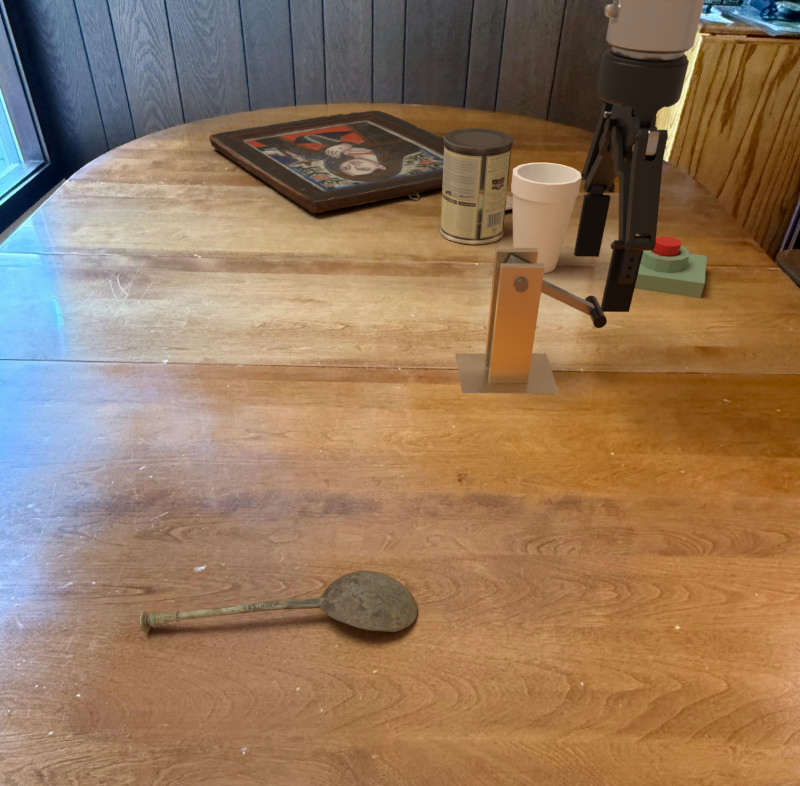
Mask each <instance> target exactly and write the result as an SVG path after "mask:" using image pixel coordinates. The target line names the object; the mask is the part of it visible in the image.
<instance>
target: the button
mask: <svg viewBox="0 0 800 786" xmlns="http://www.w3.org/2000/svg"><path fill="white" fill-rule="evenodd" d="M680 246H682V241H681V240H680V239H678V238H677V237H676V238H675V237H672V236H658V237H656V244H655V248H654V250H653V251H652V252H653V253H654V254H657V255H660V256H665V257H676V256H678V254H679V250H680Z"/></svg>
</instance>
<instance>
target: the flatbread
mask: <svg viewBox="0 0 800 786" xmlns="http://www.w3.org/2000/svg"><path fill="white" fill-rule="evenodd" d="M511 210H513V195H507V198H506V208H505V212H507V211H511Z"/></svg>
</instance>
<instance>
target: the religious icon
mask: <svg viewBox="0 0 800 786" xmlns="http://www.w3.org/2000/svg"><path fill="white" fill-rule="evenodd" d="M208 139H209V141H210V145H211V147H213V148H214V149H215V150H217V151H218V152H220V153H221V154H223V155H224V156H226V157H227V158H229V159H230V160H231V161H233V162H234V163H236V164H238V165H239V166H241V168H243V169H244V170H246V171H248V172H250V173H252V174H253V175H254V176H256V177H258V178H260V179H261V180H262V181H263V182H264V183H267V184H268V185H270V186H271V187H272V188H274V189H275V190H276V191H278V192H280V193H281V194H282V195H284V196H285V197H287V198H288V199H290V200H293V202H295V203H296V204H298V205H300V206H301V207H302V208H304V209H306V210H307V211H309V212H310V213H312V214H317V213H319V214H320V213H324V212H331V211H334V210H340V209H346V208H351V207H355V206H361V205H365V204H370V203H376V202H381V201H386V200H391V199H395V198H400V197H408V198H409V199H411V200H419V199H420V197H421V196H420V193H423V192H430V191H434V190H439V189H442V186H443V163H444V137H442V136H440V135H438V134H436V133H433V132H431V131H428V130H426V129H423V128H421V127H418V126H417V125H415V124H412V123H410V122H408V121H406V120H403V119H402V118H400V117H396V116H394V115H393V114H391V113H387V112H384V111H381V110H366V111H359V112H350V113H345V114H343V113H338V114H333V115H332V114H331V115H329V116H327V115H325V116H318V117H311V118H305V119H299V120H292V121H287V122H280V123H273V124H268V125H263V126H254V127H249V128H242V129H237V130H229V131H223V132H217V133H212V134H209V136H208Z"/></svg>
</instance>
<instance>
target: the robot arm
mask: <svg viewBox="0 0 800 786" xmlns="http://www.w3.org/2000/svg"><path fill="white" fill-rule="evenodd" d="M704 4H705V0H612V3H608V4H606V6H605V7H604V14H603V15H604V16H605V17H606V18H609V19H608V24H607V31H606V38H605V41H606V42H607V43H608V44H609V46H611V47H610V48H607V49H606V50H605V52H603V53H602V55H601V56H602V57H601V61H600V67H599V74H598V79H597V86H596V95H597V96H598V98H599V99H601V101H602V104H601V110H600V115H599V118H598V121H597V124H596V128H595V130H594V134H593V137H592V140H591V143H590V147H589V149H588V152H587V155H586V159H585V162H584V165H583V169H582V171H581V181H583V182H584V184H583V191H584V193H586V194H583V200H582V205H581V210H580V217H579V223H578V227H577V228H578V229H577V233H576V239H575V245H574V249H573V255H574V257H575V258H576V257H582V258H583V257H584V258H585V257H586V258H588V257H589V258H593V257H594V258H598V257H600V253H601V247H602V243H603V238H604V232H605V228H606V224H607V218H608V213H609V207H610V204H611V195H610V193H611V194H614V193H616V191H615V190H616V189H615V187H616V186H615V185H616V184H615V180H616V178H617V179H618V239H614V240H613V241H612V242H611V244H610V249H611V250H612V252H611V257H610V262H609V267H608V271H607V275H606V281H605V285H604V290H603V294H602V300H601V305H600V307H601V310H602V312H603V313H607V312H608V313H630V309H631V306H632V301H633V297H634V293H635V289H636V288H635V284H636V280H637V276H638V272H639V268H640V263H641V259H642V255H643V251H644V250H654V248H655V244H656V238H657V229H658V218H659V209H660V197H661V187H662V176H663V163H664V157H665V151H666V147H667V142H668V138H669V134H668V130H667V129H658V127H657V117H658V116H657V114H658V112H659V111H661V110H662V109H663V108H669V107H670V108H671V107H672V106H674V105H676V104H677V103H678V102H679V101H680V99H681V97H682V92H683V88H684V84H685V80H686V77H687V76H686V75H687V71H688V68H689V63H690V61H689V59H688V56H687V55H686V54H685V53H686V52H688V51H689V50H691V49H692V48H693V47H694V46H695V41H696V37H697V33H698V29H699V25H700V22H701V21H700V20H701V16H702V12H703V8H704ZM605 193H609V194H605Z"/></svg>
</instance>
